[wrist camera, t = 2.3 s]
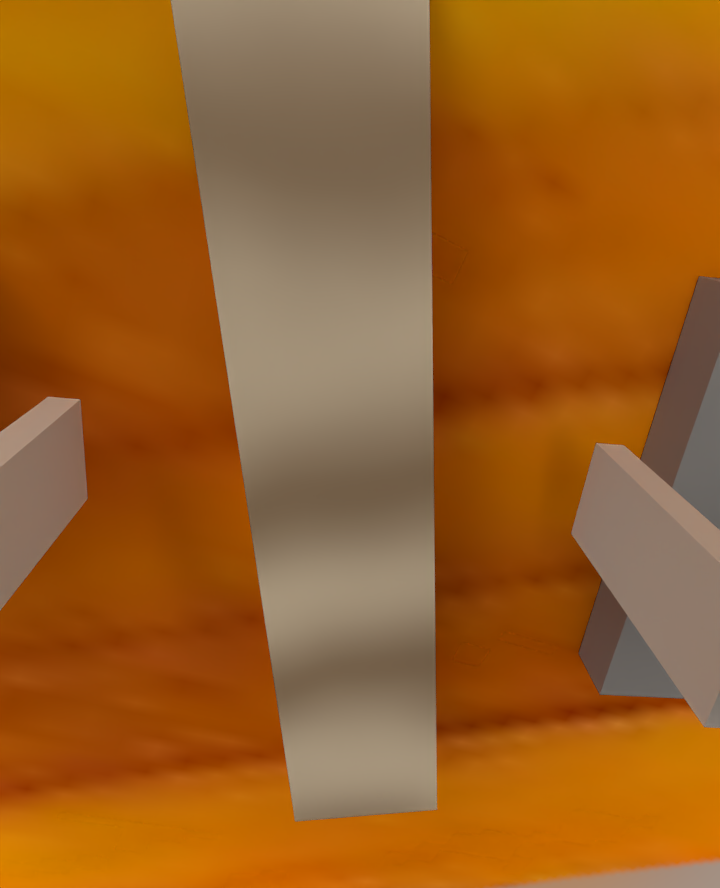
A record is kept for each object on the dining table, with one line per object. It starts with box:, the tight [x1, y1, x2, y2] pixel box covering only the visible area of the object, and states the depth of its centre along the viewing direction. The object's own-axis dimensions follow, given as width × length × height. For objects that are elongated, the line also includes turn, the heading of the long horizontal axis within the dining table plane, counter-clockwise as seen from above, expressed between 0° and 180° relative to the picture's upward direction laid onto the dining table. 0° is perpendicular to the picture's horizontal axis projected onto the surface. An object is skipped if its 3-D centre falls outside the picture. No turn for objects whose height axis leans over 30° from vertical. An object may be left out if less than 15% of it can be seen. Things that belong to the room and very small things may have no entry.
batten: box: [171, 0, 437, 821], centre depth 17 cm, size 24×4×5 cm, turn 3°
